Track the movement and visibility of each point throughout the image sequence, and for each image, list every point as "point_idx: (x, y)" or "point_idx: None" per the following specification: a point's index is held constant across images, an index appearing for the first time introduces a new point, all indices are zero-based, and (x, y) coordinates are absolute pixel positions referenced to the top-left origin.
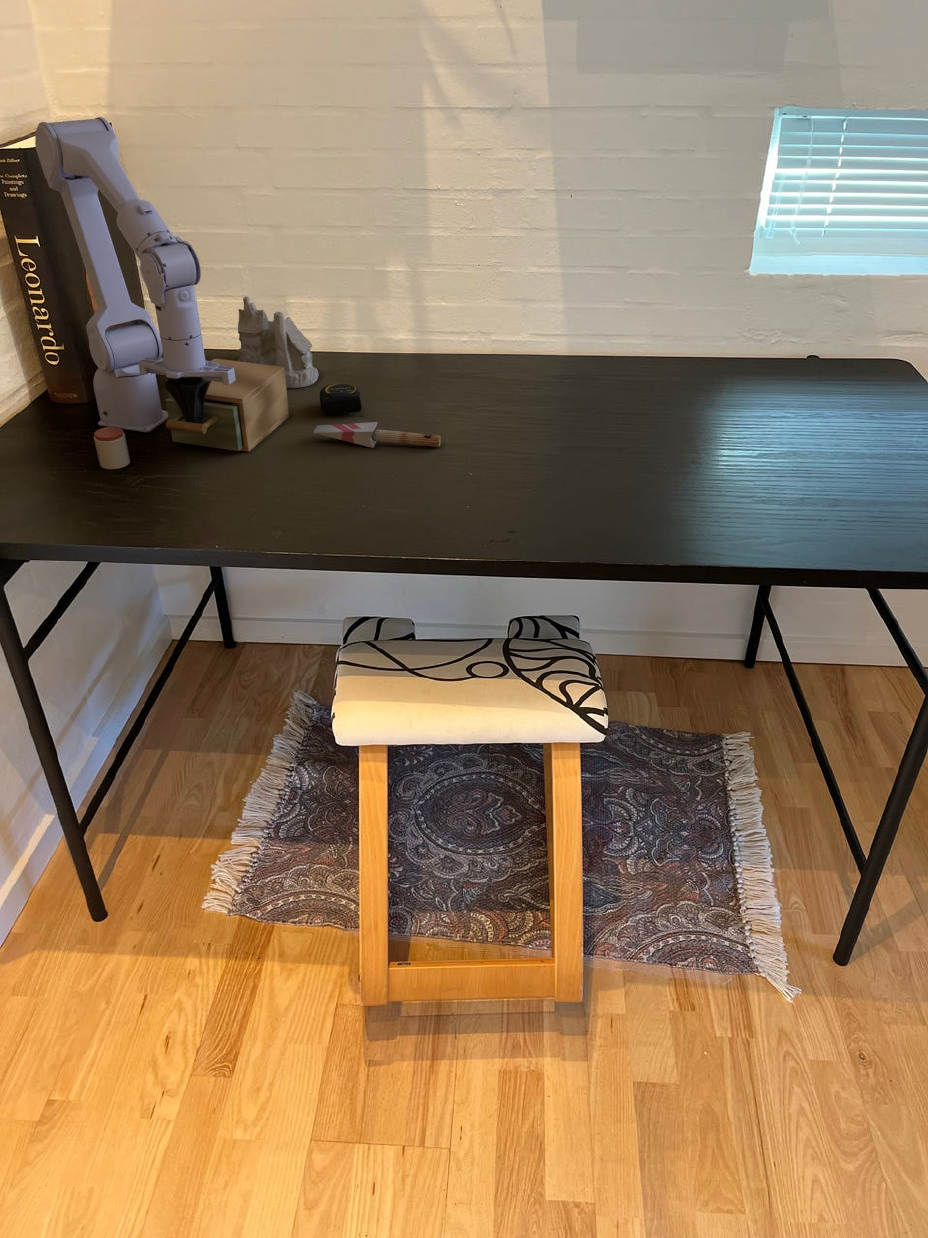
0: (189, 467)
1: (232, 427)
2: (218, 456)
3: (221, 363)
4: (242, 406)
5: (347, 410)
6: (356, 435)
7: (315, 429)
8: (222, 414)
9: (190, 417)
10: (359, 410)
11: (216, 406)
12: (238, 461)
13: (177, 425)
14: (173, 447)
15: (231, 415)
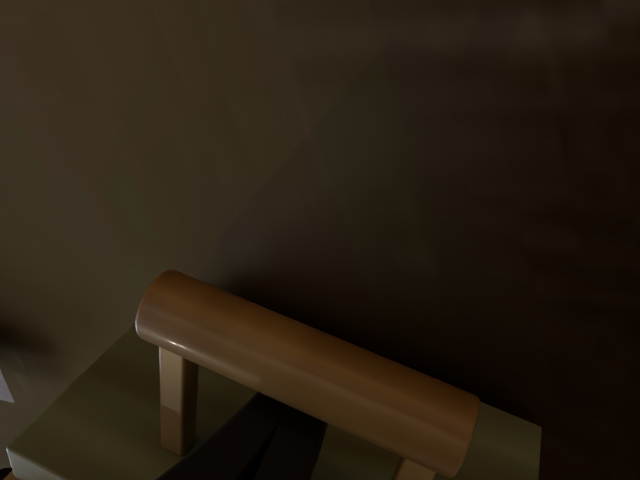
0: (392, 160)
1: (116, 363)
2: (287, 273)
3: None
4: (10, 473)
5: None
6: None
7: (1, 378)
8: (113, 444)
9: (249, 436)
10: (2, 469)
11: None
12: (183, 215)
13: (359, 378)
14: (544, 398)
15: (57, 418)
